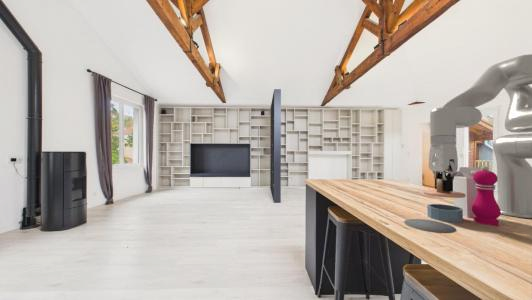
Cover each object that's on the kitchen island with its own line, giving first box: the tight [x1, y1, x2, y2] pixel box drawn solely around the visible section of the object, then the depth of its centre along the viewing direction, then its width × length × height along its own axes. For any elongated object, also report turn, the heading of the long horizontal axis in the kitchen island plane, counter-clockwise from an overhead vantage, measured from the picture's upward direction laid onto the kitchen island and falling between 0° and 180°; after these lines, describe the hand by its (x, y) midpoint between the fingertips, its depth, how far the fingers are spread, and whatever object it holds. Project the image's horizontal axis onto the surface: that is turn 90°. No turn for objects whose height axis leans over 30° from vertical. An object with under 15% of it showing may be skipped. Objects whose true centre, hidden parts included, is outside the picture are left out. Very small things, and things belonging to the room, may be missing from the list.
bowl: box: [426, 203, 464, 224], centre depth 81 cm, size 10×10×4 cm
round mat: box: [403, 218, 457, 234], centre depth 73 cm, size 14×14×1 cm
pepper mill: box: [472, 165, 502, 227], centre depth 76 cm, size 7×7×20 cm
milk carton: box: [453, 166, 482, 219], centre depth 84 cm, size 7×7×19 cm
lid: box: [423, 179, 465, 199], centre depth 81 cm, size 12×12×6 cm
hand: (443, 189), depth 81 cm, fingers closed on lid, 4 cm apart
